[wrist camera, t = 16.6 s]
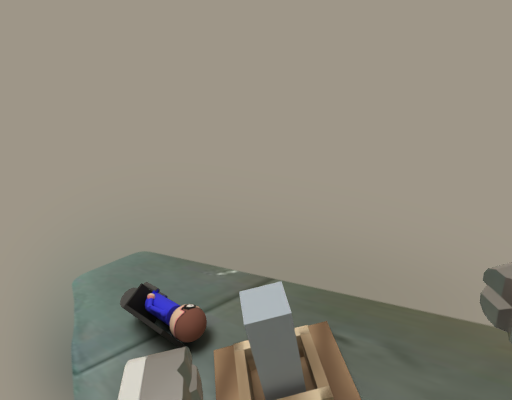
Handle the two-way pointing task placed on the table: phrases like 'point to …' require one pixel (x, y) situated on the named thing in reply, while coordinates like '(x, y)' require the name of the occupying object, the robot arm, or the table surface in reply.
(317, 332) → the cradle jig
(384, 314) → the table surface
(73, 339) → the table surface
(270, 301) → the block
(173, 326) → the character figurine
